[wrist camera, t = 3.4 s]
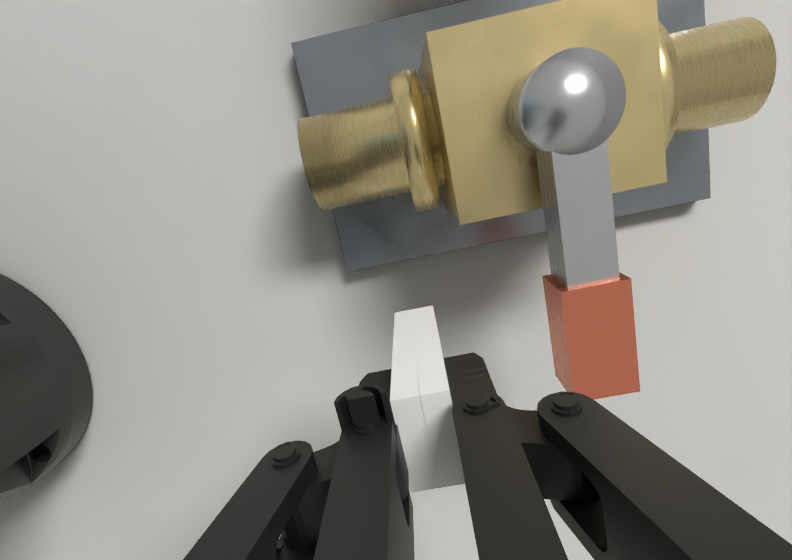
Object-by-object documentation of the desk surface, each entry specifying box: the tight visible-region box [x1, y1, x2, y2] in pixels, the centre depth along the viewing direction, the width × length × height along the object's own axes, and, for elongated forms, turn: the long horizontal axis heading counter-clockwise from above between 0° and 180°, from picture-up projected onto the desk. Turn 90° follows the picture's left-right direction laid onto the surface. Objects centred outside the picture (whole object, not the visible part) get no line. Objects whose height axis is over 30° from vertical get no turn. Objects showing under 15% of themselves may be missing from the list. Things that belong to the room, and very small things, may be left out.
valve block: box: [291, 0, 776, 272], centre depth 21 cm, size 20×12×8 cm, turn 102°
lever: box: [507, 47, 640, 399], centre depth 17 cm, size 12×3×3 cm, turn 12°
